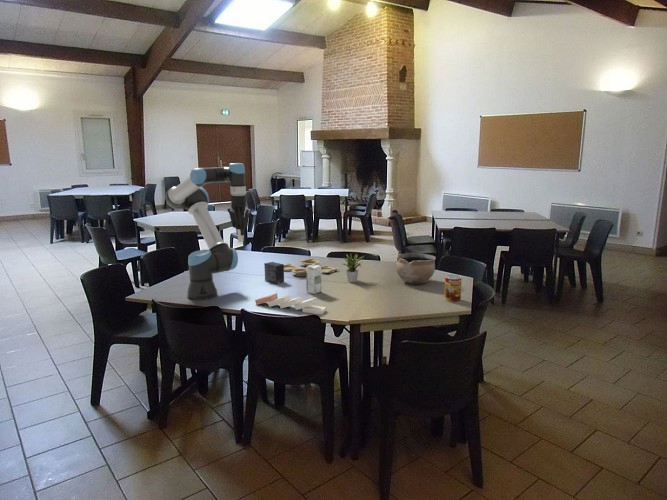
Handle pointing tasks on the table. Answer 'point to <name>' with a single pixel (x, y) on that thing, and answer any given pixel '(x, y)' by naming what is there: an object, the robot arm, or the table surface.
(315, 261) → the tableware set
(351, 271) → the house plant
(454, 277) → the canned food
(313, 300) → the domino
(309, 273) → the syrup box
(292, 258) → the table surface
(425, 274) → the ceramic bowl
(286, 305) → the domino
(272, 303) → the domino
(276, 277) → the small box
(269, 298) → the domino
